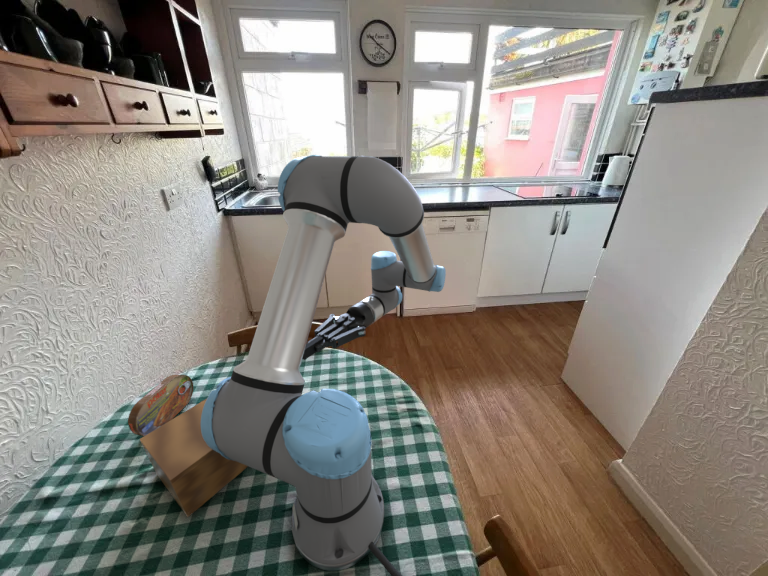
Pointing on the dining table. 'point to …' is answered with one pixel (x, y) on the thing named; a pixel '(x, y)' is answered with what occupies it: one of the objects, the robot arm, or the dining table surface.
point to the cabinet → (188, 460)
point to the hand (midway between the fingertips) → (301, 354)
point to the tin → (160, 404)
